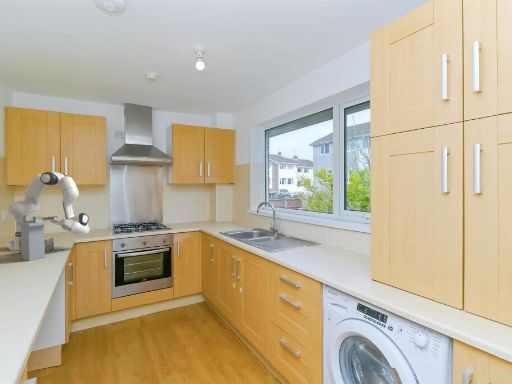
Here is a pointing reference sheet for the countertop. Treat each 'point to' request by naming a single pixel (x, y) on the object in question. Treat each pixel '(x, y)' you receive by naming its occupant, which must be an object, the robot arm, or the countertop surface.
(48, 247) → the stack of blocks
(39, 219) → the sage cube
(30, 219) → the steel-headed mallet
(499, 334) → the countertop surface
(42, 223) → the grey pedestal
